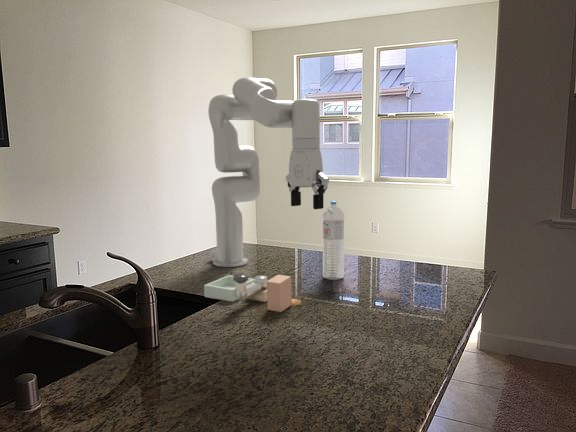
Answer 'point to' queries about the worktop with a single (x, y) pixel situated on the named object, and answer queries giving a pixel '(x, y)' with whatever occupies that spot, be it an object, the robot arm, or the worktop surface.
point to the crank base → (262, 296)
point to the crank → (247, 290)
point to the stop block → (279, 293)
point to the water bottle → (333, 243)
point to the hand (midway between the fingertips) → (306, 207)
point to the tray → (223, 288)
